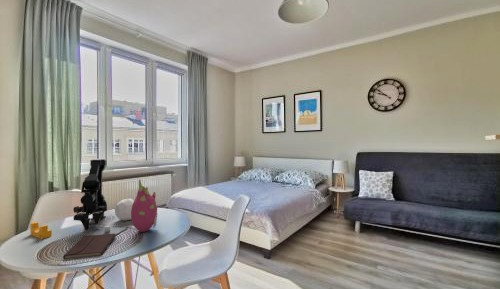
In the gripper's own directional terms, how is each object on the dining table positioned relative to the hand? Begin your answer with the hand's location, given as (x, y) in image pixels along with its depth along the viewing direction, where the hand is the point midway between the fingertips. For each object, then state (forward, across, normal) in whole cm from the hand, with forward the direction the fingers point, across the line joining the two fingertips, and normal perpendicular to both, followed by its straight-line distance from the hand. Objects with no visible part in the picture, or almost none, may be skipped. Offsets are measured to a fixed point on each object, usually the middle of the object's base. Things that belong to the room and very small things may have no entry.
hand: (91, 227), depth 136 cm
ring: (+1, 0, 0) cm, 1 cm away
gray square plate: (+1, +4, +13) cm, 14 cm away
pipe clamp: (+1, +11, -20) cm, 23 cm away
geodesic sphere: (+1, -18, +10) cm, 21 cm away
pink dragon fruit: (+1, -1, +32) cm, 32 cm away
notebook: (+1, +21, +18) cm, 28 cm away
